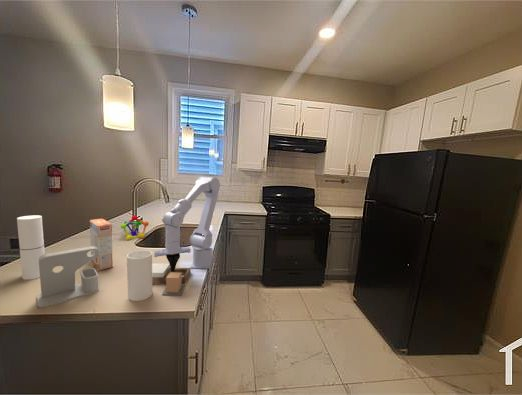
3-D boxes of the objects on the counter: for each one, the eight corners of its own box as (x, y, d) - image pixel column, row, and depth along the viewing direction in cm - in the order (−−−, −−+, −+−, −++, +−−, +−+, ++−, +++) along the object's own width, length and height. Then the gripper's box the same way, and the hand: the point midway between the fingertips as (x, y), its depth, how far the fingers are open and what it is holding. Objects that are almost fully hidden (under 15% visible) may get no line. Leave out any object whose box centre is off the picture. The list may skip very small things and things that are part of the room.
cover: (170, 267, 105) (170, 263, 105) (163, 277, 96) (163, 272, 96) (149, 267, 104) (149, 263, 104) (140, 277, 95) (140, 272, 95)
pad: (185, 285, 95) (185, 284, 95) (180, 295, 88) (180, 294, 88) (167, 285, 95) (167, 284, 95) (162, 295, 88) (162, 294, 88)
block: (181, 286, 94) (181, 272, 93) (178, 292, 90) (178, 277, 89) (170, 286, 94) (170, 272, 93) (166, 292, 89) (166, 277, 88)
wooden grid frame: (190, 272, 107) (190, 267, 106) (185, 284, 97) (185, 278, 96) (150, 272, 105) (150, 267, 105) (140, 283, 95) (140, 277, 95)
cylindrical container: (19, 281, 92) (13, 219, 89) (26, 273, 99) (21, 215, 95) (42, 277, 96) (38, 218, 92) (48, 270, 102) (44, 214, 98)
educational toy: (140, 234, 160) (142, 213, 159) (148, 239, 152) (150, 216, 150) (115, 236, 149) (117, 213, 148) (122, 242, 140) (124, 217, 139)
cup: (134, 288, 91) (133, 249, 89) (155, 288, 92) (155, 250, 90) (123, 301, 83) (122, 258, 81) (147, 301, 84) (146, 258, 82)
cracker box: (113, 267, 108) (112, 223, 105) (98, 271, 104) (96, 225, 101) (105, 258, 117) (103, 217, 115) (90, 261, 113) (88, 219, 110)
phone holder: (95, 281, 95) (93, 239, 93) (101, 291, 88) (98, 246, 86) (37, 296, 83) (33, 248, 81) (37, 309, 76) (33, 257, 74)
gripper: (188, 235, 106) (187, 263, 108) (153, 239, 99) (153, 269, 101) (191, 240, 100) (191, 270, 102) (154, 244, 93) (155, 276, 94)
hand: (172, 270), depth 101 cm, fingers closed
